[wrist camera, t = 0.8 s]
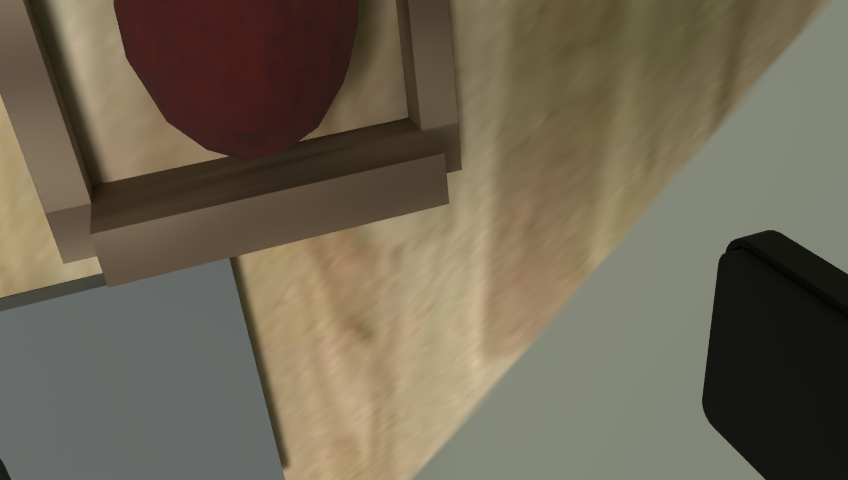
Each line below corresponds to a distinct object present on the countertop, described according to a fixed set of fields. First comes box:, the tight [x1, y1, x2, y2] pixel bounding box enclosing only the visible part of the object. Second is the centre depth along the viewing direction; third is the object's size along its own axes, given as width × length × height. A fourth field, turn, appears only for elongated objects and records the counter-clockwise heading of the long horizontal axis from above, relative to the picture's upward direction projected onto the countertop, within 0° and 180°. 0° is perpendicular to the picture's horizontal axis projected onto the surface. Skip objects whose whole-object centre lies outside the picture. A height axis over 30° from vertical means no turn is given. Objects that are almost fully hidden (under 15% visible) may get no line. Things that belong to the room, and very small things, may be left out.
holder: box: [0, 0, 462, 288], centre depth 25 cm, size 15×15×4 cm
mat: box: [0, 258, 285, 480], centre depth 32 cm, size 12×12×1 cm
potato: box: [114, 0, 358, 160], centre depth 25 cm, size 8×9×6 cm
